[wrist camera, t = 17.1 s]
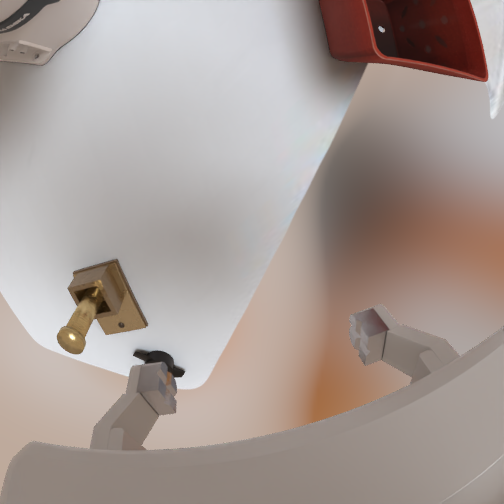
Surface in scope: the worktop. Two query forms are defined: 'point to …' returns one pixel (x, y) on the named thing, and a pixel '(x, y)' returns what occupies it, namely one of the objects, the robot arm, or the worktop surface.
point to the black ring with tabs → (160, 357)
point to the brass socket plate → (109, 297)
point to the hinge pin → (80, 322)
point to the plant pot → (407, 35)
